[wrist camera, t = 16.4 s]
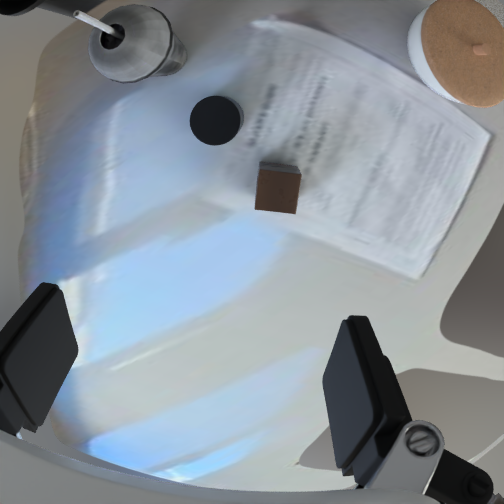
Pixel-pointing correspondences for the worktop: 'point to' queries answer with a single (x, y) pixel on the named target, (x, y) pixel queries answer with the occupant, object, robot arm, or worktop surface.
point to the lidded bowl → (459, 52)
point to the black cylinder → (216, 120)
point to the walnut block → (277, 187)
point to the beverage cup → (134, 44)
